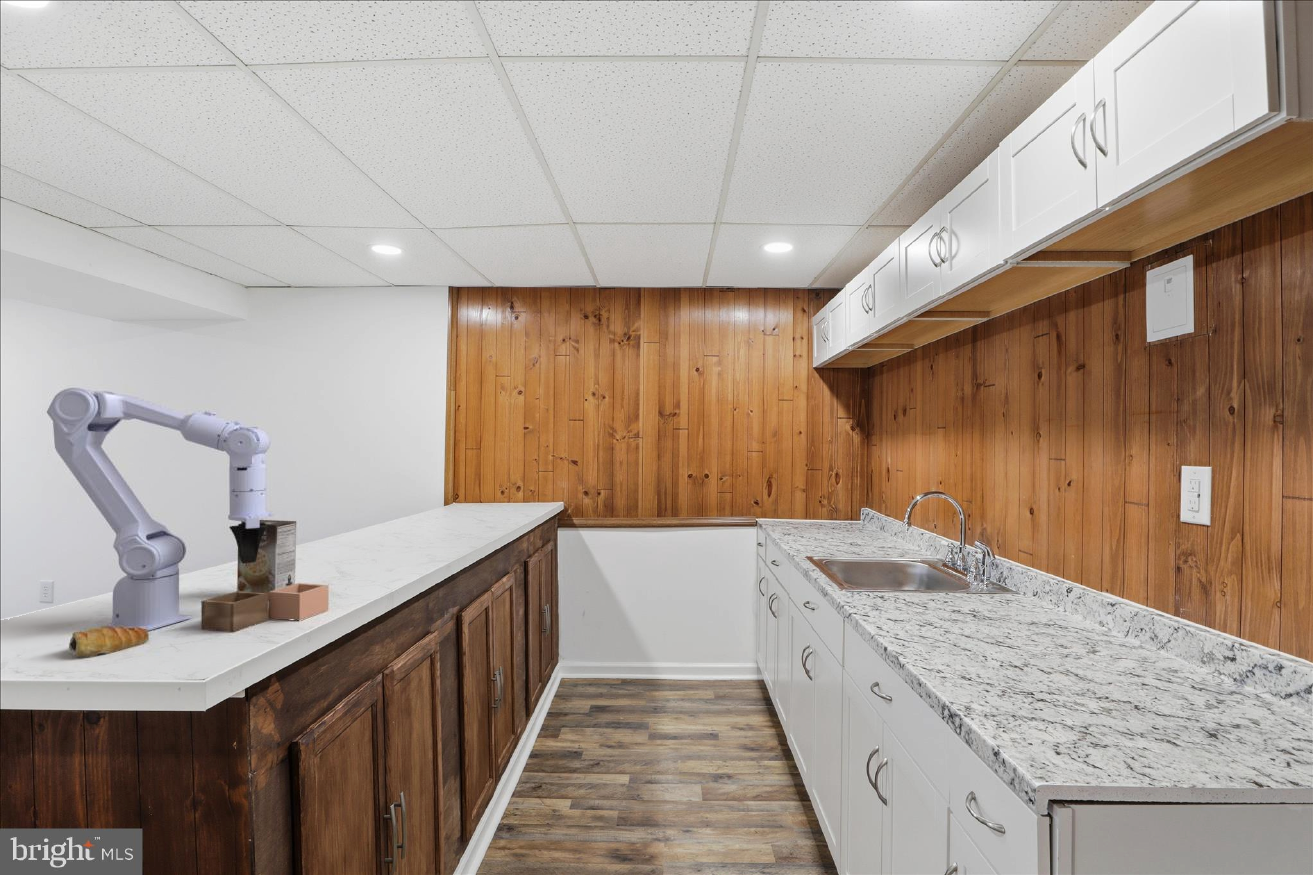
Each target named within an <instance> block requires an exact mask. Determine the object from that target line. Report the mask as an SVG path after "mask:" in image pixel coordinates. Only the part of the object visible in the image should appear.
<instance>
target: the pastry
mask: <svg viewBox="0 0 1313 875" xmlns="http://www.w3.org/2000/svg"><path fill="white" fill-rule="evenodd" d="M71 636H72V637H71V638H70V640H69V643H68V649H69V650H70V652H69V653H70V655H71V656H73V657H74V658H76V659H77V658H78V659H86V658H92V657H97V655H98V654H105V655H107V654H113V653H115V652H119V651H124V650H128V649H132V648H134V647H137V646H140V645H142V644H145V643H146V642H148V641H149V640H150V637H149V636H150V635H149V632H148V631H147V630H146V629H144V628H140V627H132V628H127V627H124V626H123V627H121V626H119V627H108V626H107V625H105V626H102V627H100V628H90V629H87V630H84V631H82V630H81V631H79V630H78V631H75V632H73V633H72V635H71Z"/></svg>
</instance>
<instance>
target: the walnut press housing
mask: <svg viewBox="0 0 1313 875" xmlns="http://www.w3.org/2000/svg"><path fill="white" fill-rule="evenodd" d="M200 606H201V608H200V609H201V617H200V619H201V621H200V624H201V625H200V626H201V628H200V629H201V630H206V631H217V632H227V633H236V632H239V631H241V629H242V630H244V628H245V629H247V628H250V627H252V626H255V624H256V625H259V624H262V623H265V622H267V620H268V621H269V618H268V593H255V592H242V591H237V590H236V591H234V592H233V591H232V592H230V593H227V594H226V593H225V594H223V595H219V596H215V597H212V598H208V599H205V600H201V605H200ZM261 622H262V623H261ZM249 626H250V627H249Z"/></svg>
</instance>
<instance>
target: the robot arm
mask: <svg viewBox="0 0 1313 875" xmlns="http://www.w3.org/2000/svg"><path fill="white" fill-rule="evenodd" d="M49 404H50V405H49V406H48V408H47V410H46V414H48V417H50V420H51V421H52V426H53V428H52V429H53V440H54V448H55V451H56V452H57V454H58V455H59V456H60V458H61V459H62V461H63V463H65V465H66V467H67V468H68V469H69V471H70V472H71V474H72V475H73V476H74V477H75V479H76V480H77V482H78V484H80V486H81V488H82V489H83V491H85V493H86V495H87V496H88V497H89V499H90V500H91V501H92V503H93V504H94V506H95V507H96V509H98V511H99V512H100V513H101V515H102V516H103V519H105V521H106V522H107V523H108V525H109V526H110V527H111V529H112V530H113V532H114V533H115V539H114V541H113V544H112V546H113V549H114V550H115V552H116V553H117V555H118V556H117V557H118V565H119V567H120V569H121V571H122V572H123V573H125V576H123V577H122V578H120V579H119V580H117V582H116V583H115V585H114V587H113V590H112V622H111V623H107V625H106V626H108V627H119V626H121V627H123V626H124V627H127V628H132V627H140V628H144V629H146V630H147V632H148V631H152V630H156V629H159V628H162V627H165V626H169V625H173V624H175V623H179V622H183V621H186V620H190V619H191V618H192V615H191V614H190V615H188V614H179V613H180V568H179V564H180V563H181V562H182V561H183V560H184V559H185V556H186V553H187V546H186V543H185V542H184V540H182V538H181V537H179V536H177V535H175V534H173V533H172V532H171V531H170V529H168V527H167V526H166V525H164V524H162V523H160V522H158V521H156V520H155V519H153V518H152V516H150V513H149V512H148V511H147V510H146V508H145V507H144V505H143V504H142V503H141V501H140V500H139V499H138V497H137V495H136V494H135V493H134V491H133V490H132V488H131V487H130V485H129V484H128V483H127V481H126V480H125V479H124V477H123V476H122V474H121V473H120V471H119V470H118V469H117V468H116V465H114V463H113V462H112V461H111V459H110V458H109V456H108V454H107V453H106V452H105V451H104V449H103V447H102V445H103V443H104V441H105V439H106V437H107V436H108V435H109V434H110V433H111V431H113V430H114V429H115V427H117V425H119V424H120V422H122V420H123V421H124V420H125V421H130V420H134V419H135V420H139V421H142V422H145V423H149V424H154V425H157V426H160V427H165V428H168V429H172V430H174V431H178V432H180V434H181V435H182V437H183V438H184V440H186V441H188V442H190V443H194V444H198V445H201V446H204V447H208V448H210V449H215V450H217V451H221V452H225V453H226V454H227V455H228V457H229V467H228V468H229V469H228V470H229V471H228V474H229V475H228V477H229V482H228V483H229V490H228V491H229V514H228V518H227V519H228V520H230V521H235V522H241V523H239V524H240V525H238V524H237V525H230V526H229V527H228V528H229V529H230V531H231V532H232V534H233V538H234V539H235V541H236V546H237V552H238V551H239V555H240V559H241V562H242V564H244V563H252V562H256V559H257V555H258V550H259V545H260V541H261V538H262V536H263V534H264V532H265V530H266V528H267V525H266V523H264V522H259V520H265V518H267V517H272V516H274V514H275V513H274V511H267V466H266V453H267V452H268V450H269V449H270V446H271V439H270V436H269V435H268V434H267V432H266V431H265V430H262V429H260V428H259V427H257V426H248V427H244V422H242V421H238V420H236V421H231V420H229V419H228V420H227V419H225V418H222V417H218V416H216V415H217V413H216V412H214V411H210V410H205V412H204V411H203V412H202V411H196V412H194V413H191V414H186V413H183V412H180V411H178V410H174V409H171V408H170V407H169V408H168V407H166V406H163V405H161V404H156V403H154V402H151V401H148V400H145V399H143V398H139V397H136V396H131V395H125V394H118V393H114V392H112V391H97V390H89V389H85V388H81V387H68V388H65V389H63V390H60V391H59V392H58V393H57V394H56V395H54V396H53V399H52V401H51V402H50V403H49Z"/></svg>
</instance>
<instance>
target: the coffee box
mask: <svg viewBox="0 0 1313 875" xmlns="http://www.w3.org/2000/svg"><path fill="white" fill-rule="evenodd" d="M259 522H264V523H266V525H267V528H266V530H265V532H264V534H263V536H262V538H261V541H260V545H259V550H258V555H257V559H256V562H252V563H244V564H242V562H241V559H240V555H239V551H238V550H237V571H236V572H237V574H236V576H237V580H236V581H237V583H236V589H237V590H236V592H237V591H242V592H255V593H268V600H269V592H270V591H273V590H277V589H280V588H283V587H287V586H290V585H294V584H296V567H297V566H296V565H297V564H296V560H297V559H296V557H297V554H296V552H297V549H296V548H297V521H296V520H278V519H277V520H274V519H261V520H259ZM240 524H241V523H238V524H237V525H240Z"/></svg>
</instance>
